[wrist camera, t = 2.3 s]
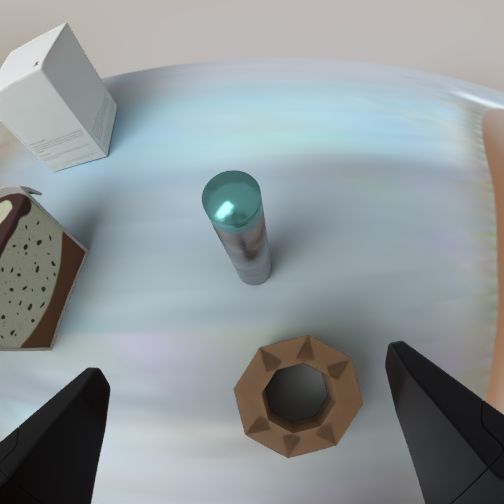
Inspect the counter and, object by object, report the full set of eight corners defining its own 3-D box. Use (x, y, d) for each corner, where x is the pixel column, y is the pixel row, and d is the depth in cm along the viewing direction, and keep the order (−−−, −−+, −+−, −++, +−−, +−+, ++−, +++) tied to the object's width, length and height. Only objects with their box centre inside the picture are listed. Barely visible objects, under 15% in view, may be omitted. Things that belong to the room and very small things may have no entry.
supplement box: (119, 105, 31) (70, 19, 19) (108, 158, 28) (40, 68, 16) (66, 122, 31) (10, 50, 19) (51, 174, 29) (-22, 103, 17)
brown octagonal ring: (365, 371, 20) (379, 373, 17) (312, 456, 19) (317, 472, 15) (279, 323, 22) (278, 317, 19) (225, 408, 20) (215, 416, 17)
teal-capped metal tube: (277, 263, 23) (271, 184, 13) (260, 291, 23) (239, 233, 12) (248, 247, 24) (223, 162, 14) (231, 274, 23) (190, 206, 13)
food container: (53, 218, 27) (-14, 166, 17) (96, 235, 26) (24, 178, 16) (8, 334, 24) (-72, 314, 14) (47, 365, 22) (-42, 355, 13)
